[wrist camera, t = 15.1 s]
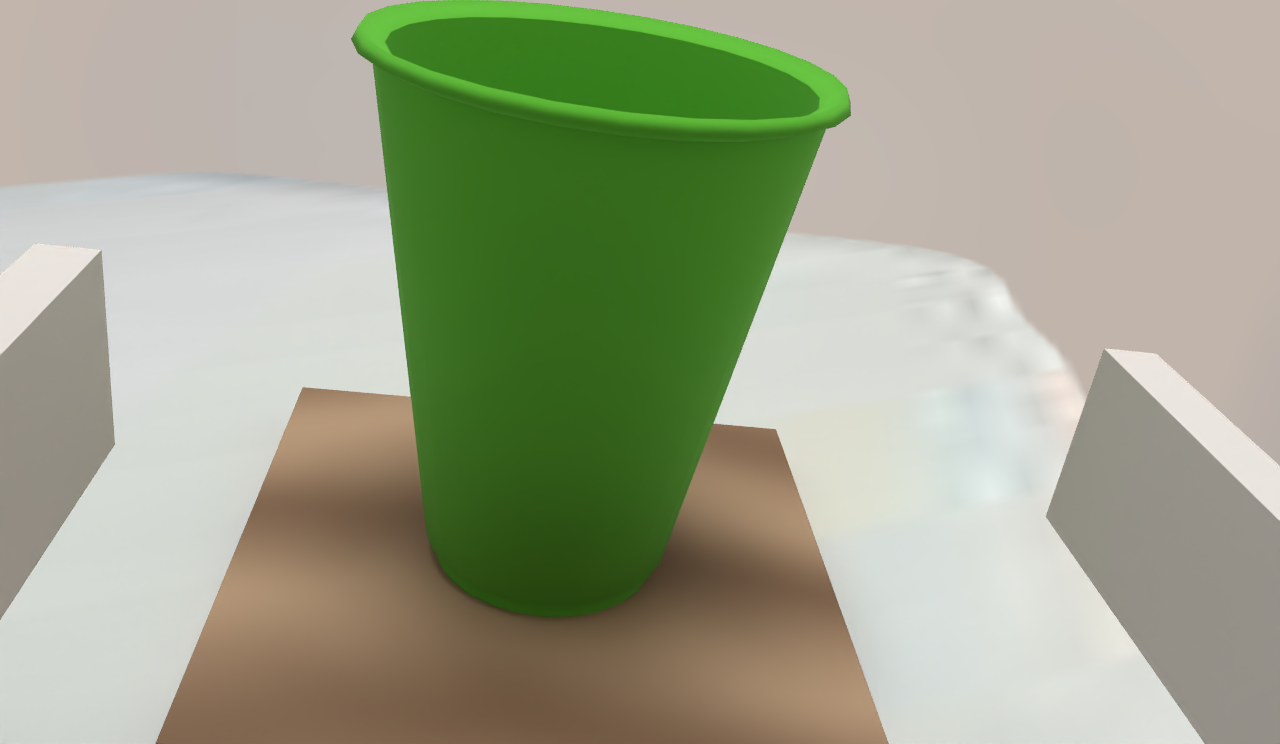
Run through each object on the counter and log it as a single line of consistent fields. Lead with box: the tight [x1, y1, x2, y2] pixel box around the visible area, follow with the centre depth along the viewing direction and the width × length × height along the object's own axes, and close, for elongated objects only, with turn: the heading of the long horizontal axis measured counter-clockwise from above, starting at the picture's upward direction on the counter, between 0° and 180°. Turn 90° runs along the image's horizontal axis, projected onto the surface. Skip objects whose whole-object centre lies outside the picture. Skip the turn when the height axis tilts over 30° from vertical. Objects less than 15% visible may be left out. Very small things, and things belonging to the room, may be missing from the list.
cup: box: [351, 0, 851, 617], centre depth 23 cm, size 9×9×11 cm
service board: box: [156, 387, 888, 744], centre depth 26 cm, size 13×13×1 cm
